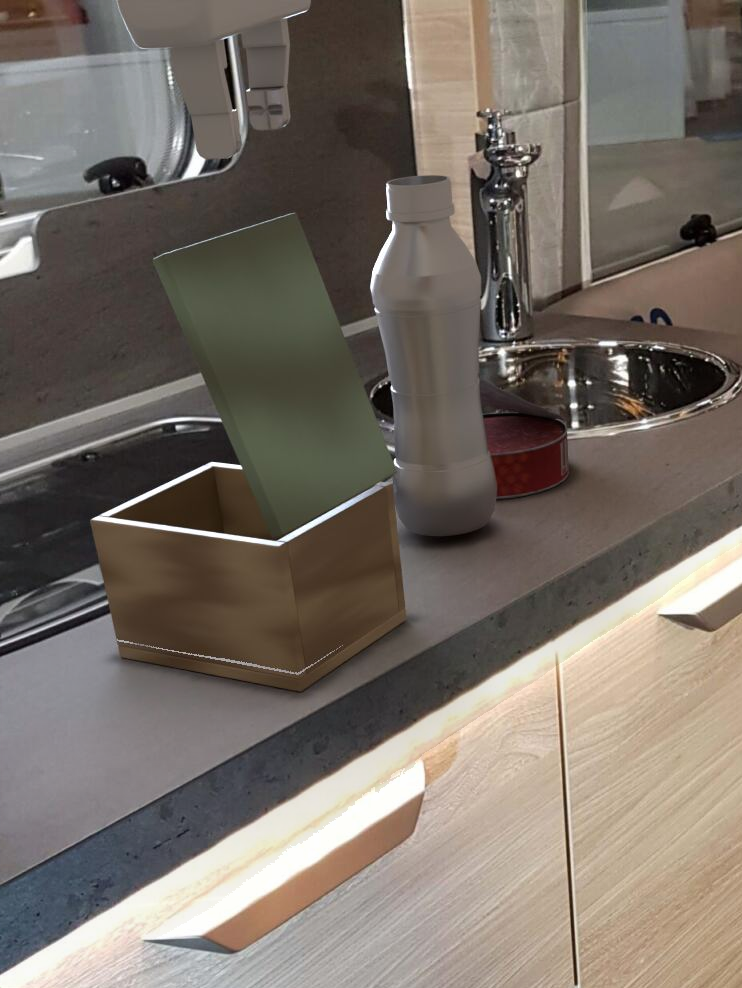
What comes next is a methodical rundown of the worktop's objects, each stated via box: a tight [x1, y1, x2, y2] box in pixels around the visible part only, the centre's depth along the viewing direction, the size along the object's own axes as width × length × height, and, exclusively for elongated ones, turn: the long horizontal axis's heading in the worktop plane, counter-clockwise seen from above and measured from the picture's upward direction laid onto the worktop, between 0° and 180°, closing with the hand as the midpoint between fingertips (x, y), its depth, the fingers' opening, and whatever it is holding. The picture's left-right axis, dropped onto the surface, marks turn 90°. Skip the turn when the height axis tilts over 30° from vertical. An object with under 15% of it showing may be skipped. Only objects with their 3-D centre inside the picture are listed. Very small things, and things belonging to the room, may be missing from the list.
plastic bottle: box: [369, 174, 497, 537], centre depth 93 cm, size 6×7×20 cm
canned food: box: [478, 376, 570, 500], centre depth 106 cm, size 11×10×10 cm
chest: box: [89, 461, 408, 692], centre depth 84 cm, size 12×10×8 cm
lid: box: [152, 212, 397, 539], centre depth 76 cm, size 13×10×1 cm
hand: (247, 142), depth 75 cm, fingers open, 8 cm apart
